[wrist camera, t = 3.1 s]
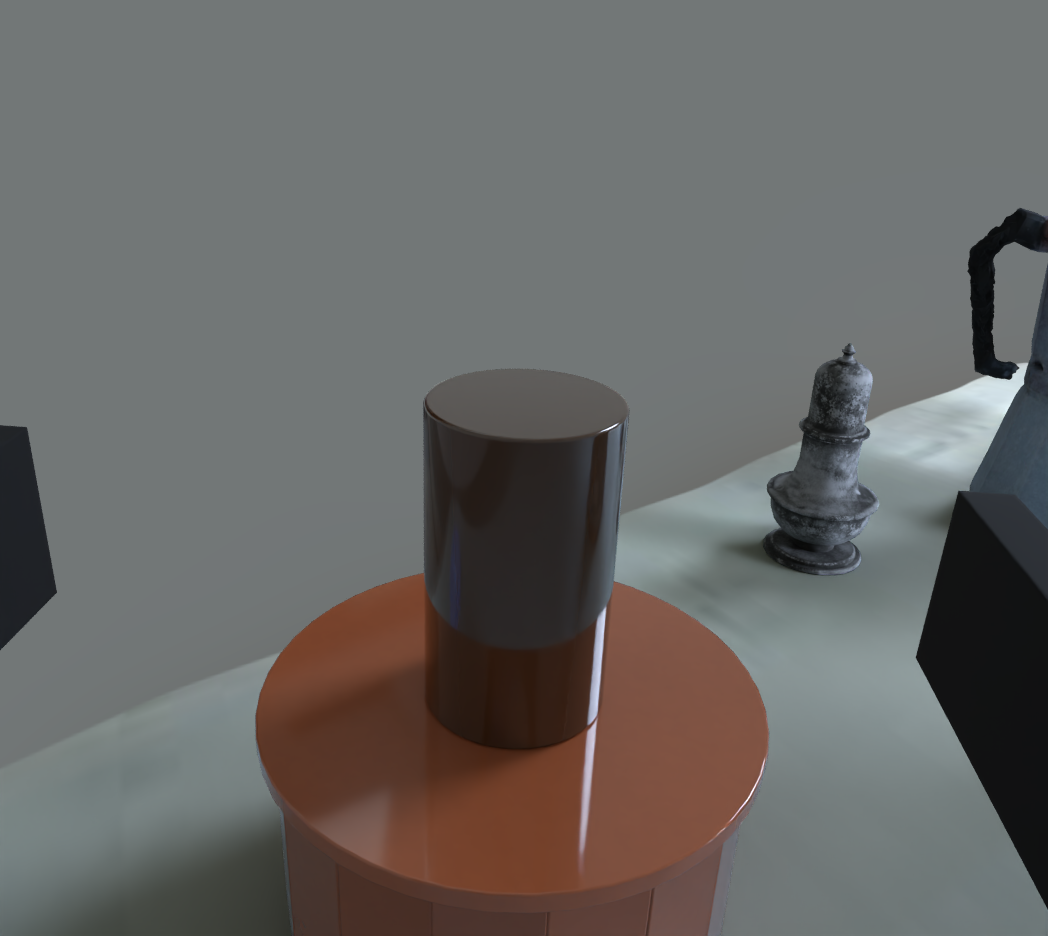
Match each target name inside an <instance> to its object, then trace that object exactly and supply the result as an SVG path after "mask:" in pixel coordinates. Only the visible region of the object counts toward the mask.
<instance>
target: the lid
mask: <svg viewBox="0 0 1048 936" xmlns="http://www.w3.org/2000/svg"><path fill="white" fill-rule="evenodd" d="M423 411H424V412H423V413H424V415H423V417H424V418H423V419H424V420H423V422H424V573H421V574H417V575H413V576H409V577H405V578H401V579H398V580H395V581H392V582H389V583H385V584H382V585H380V586H376V587H374V588H372V589H369V590H367V591H365V592H362V593H360V594H358V595H355V596H353V597H351V598H350V599H348V600H346V601H344V602H342V603H340V604H338V605H336V606H335V607H333V608H331V609H330V610H329V611H327V612H325V613H324V614H322V615H321V616H320V617H318V618H317V619H315V620H314V621H312V622H311V623H310V624H309V625H308V626H307V627H306V628H304V629H303V630H302V631H301V632H300V633H299V634H298V635H296V636H295V637H294V638H293V639H292V641H291V642H290V643H289V644H288V645H287V647H286V648H285V649H284V650H283V651H282V652H281V653H280V655H279V656H278V658H277V659H276V661H275V663H274V664H273V666H272V667H271V669H270V671H269V672H268V675H267V677H266V679H265V682H264V684H263V687H262V689H261V692H260V694H259V699H258V705H257V710H256V715H255V727H256V747H257V754H258V758H259V763H260V767H261V772H262V775H263V778H264V780H265V782H266V784H267V787H268V789H269V791H270V793H271V795H272V798H273V799H274V801H275V802H276V804H277V805H278V806H279V808H280V809H281V811H282V812H283V814H284V815H285V816H286V818H287V819H288V821H289V822H290V823H291V824H292V825H293V826H294V827H295V828H296V829H297V830H298V831H299V832H300V833H301V834H302V835H303V836H304V837H305V838H306V839H307V840H308V841H309V842H310V843H311V844H312V845H313V846H314V847H316V848H317V849H318V850H320V851H321V852H322V853H324V854H325V855H326V856H328V857H329V858H331V859H332V860H333V861H335V862H336V863H337V864H339V865H341V866H342V867H344V868H346V869H348V870H350V871H352V872H353V873H355V874H357V875H359V876H361V877H363V878H364V879H366V880H368V881H370V882H372V883H375V884H377V885H380V886H382V887H385V888H388V889H390V890H393V891H395V892H398V893H400V894H403V895H406V896H409V897H413V898H417V899H420V900H424V901H428V902H432V903H436V904H440V905H444V906H448V907H455V908H462V909H469V910H476V911H483V912H500V913H542V912H555V911H567V910H575V909H580V908H585V907H591V906H596V905H601V904H606V903H611V902H614V901H617V900H621V899H624V898H627V897H630V896H633V895H636V894H639V893H642V892H645V891H648V890H650V889H653V888H655V887H657V886H659V885H661V884H663V883H665V882H667V881H670V880H672V879H674V878H676V877H678V876H680V875H682V874H683V873H685V872H686V871H688V870H689V869H691V868H692V867H694V866H695V865H697V864H698V863H700V862H701V861H703V860H705V859H706V858H708V857H709V856H710V855H711V854H712V853H713V852H714V851H715V850H716V849H718V848H719V847H720V846H721V845H722V844H723V843H724V842H725V841H726V840H727V839H728V838H730V837H731V835H732V834H733V833H734V832H735V830H736V829H737V828H738V826H739V825H740V824H741V823H742V821H743V820H744V819H745V817H746V816H747V815H748V813H749V811H750V809H751V807H752V805H753V803H754V801H755V799H756V797H757V795H758V793H759V791H760V788H761V784H762V780H763V776H764V773H765V769H766V764H767V758H768V747H769V728H768V722H767V715H766V710H765V707H764V704H763V702H762V699H761V696H760V693H759V690H758V688H757V686H756V685H755V683H754V681H753V679H752V677H751V676H750V674H749V672H748V670H747V669H746V668H745V666H744V665H743V664H742V662H741V661H740V660H739V659H738V657H737V656H736V655H735V653H734V652H733V651H732V650H731V649H730V648H729V647H728V646H727V645H726V644H725V643H724V642H723V641H722V640H721V639H720V638H719V637H718V636H717V635H715V634H714V633H713V632H711V631H710V630H709V629H708V628H706V627H705V626H704V625H703V624H701V623H700V622H699V621H697V620H696V619H694V618H693V617H691V616H689V615H688V614H686V613H685V612H683V611H681V610H680V609H678V608H677V607H675V606H673V605H671V604H669V603H667V602H665V601H663V600H661V599H659V598H657V597H655V596H652V595H650V594H648V593H645V592H643V591H640V590H638V589H635V588H633V587H630V586H627V585H624V584H621V583H618V582H615V581H614V573H615V562H616V551H617V540H618V529H619V518H620V507H621V497H622V486H623V475H624V464H625V453H626V442H627V430H628V420H629V407H628V404H627V402H626V400H625V399H624V398H623V397H622V396H621V395H620V394H619V393H617V392H616V391H615V390H613V389H612V388H610V387H608V386H606V385H604V384H601V383H599V382H596V381H593V380H590V379H587V378H584V377H580V376H576V375H571V374H567V373H561V372H554V371H547V370H536V369H496V370H486V371H479V372H473V373H468V374H463V375H460V376H456V377H453V378H450V379H447V380H445V381H443V382H440V383H439V384H437V385H435V386H434V387H432V388H431V389H430V390H429V391H428V393H427V394H426V396H425V399H424V403H423Z"/></svg>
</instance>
